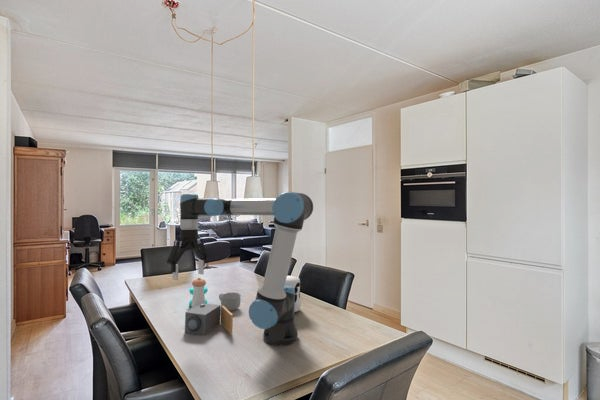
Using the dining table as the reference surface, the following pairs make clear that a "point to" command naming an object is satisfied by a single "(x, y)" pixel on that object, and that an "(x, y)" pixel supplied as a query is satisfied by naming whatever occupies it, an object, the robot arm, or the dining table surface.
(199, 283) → the salt shaker
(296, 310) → the milk container
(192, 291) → the donuts
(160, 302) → the dining table surface
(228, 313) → the side door
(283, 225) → the robot arm
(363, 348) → the dining table surface
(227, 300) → the teacup
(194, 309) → the camera housing
